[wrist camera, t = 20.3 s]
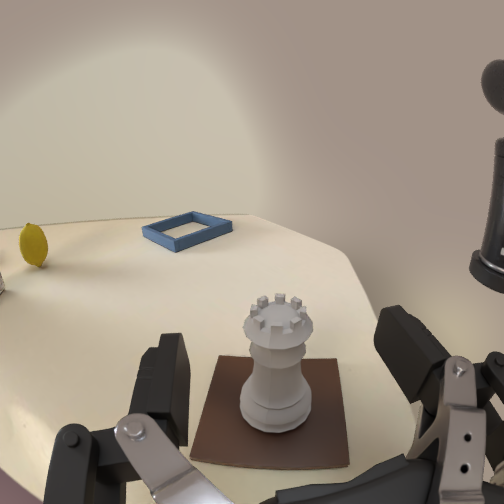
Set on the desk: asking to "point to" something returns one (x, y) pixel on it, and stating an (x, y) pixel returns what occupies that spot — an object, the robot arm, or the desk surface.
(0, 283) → the juice carton
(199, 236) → the blue tray
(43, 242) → the lemon
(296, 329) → the rook chess piece
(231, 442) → the walnut coaster
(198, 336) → the desk surface
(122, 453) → the robot arm
